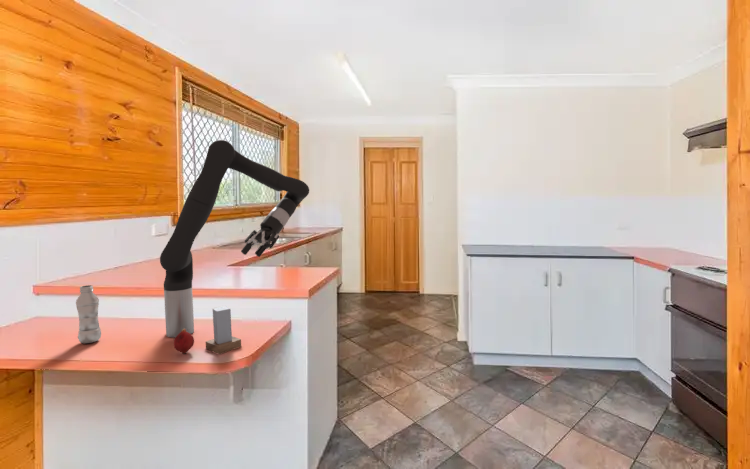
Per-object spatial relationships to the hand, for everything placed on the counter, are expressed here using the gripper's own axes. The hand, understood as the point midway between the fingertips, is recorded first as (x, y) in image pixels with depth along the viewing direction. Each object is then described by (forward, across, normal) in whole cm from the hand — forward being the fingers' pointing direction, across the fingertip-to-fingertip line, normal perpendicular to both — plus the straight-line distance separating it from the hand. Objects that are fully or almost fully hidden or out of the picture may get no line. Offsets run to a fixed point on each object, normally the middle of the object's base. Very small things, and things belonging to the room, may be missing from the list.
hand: (249, 254), depth 130 cm
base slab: (+30, +2, +13) cm, 33 cm away
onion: (+38, -4, +6) cm, 38 cm away
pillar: (+28, +2, +11) cm, 31 cm away
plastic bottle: (+48, -41, -5) cm, 63 cm away
